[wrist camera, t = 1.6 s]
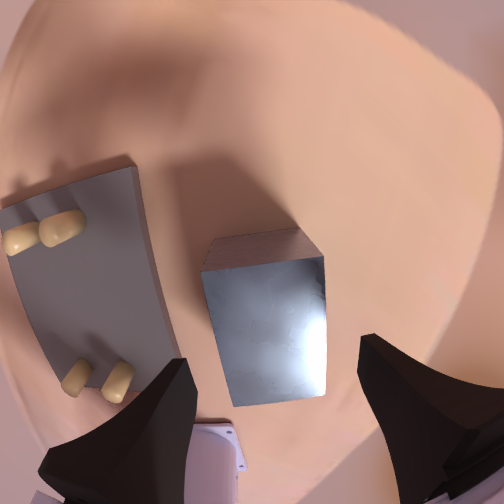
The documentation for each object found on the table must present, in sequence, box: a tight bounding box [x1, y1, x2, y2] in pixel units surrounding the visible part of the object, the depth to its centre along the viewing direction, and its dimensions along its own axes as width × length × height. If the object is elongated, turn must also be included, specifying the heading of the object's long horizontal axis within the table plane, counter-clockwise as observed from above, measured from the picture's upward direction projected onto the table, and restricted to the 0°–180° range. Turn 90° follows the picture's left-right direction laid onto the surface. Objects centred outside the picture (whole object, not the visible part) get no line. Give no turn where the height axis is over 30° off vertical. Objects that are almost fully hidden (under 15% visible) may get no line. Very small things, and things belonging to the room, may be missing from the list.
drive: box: [200, 228, 326, 407], centre depth 15 cm, size 8×5×6 cm, turn 8°
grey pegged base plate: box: [0, 166, 182, 403], centre depth 15 cm, size 16×13×4 cm
